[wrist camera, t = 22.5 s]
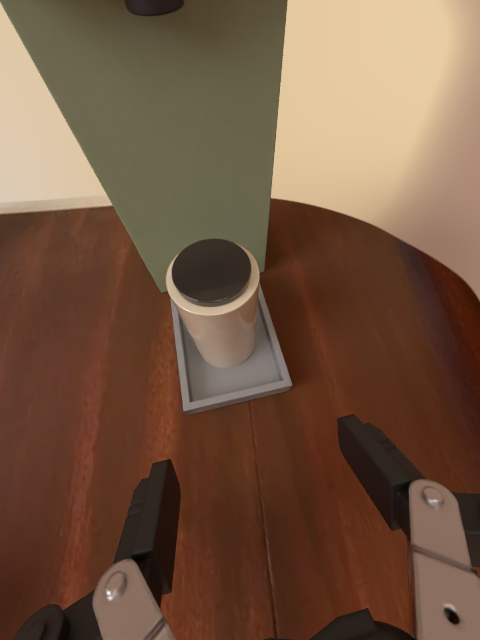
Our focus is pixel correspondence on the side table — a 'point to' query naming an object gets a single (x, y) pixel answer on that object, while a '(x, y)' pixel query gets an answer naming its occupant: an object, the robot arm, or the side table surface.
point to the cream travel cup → (217, 299)
